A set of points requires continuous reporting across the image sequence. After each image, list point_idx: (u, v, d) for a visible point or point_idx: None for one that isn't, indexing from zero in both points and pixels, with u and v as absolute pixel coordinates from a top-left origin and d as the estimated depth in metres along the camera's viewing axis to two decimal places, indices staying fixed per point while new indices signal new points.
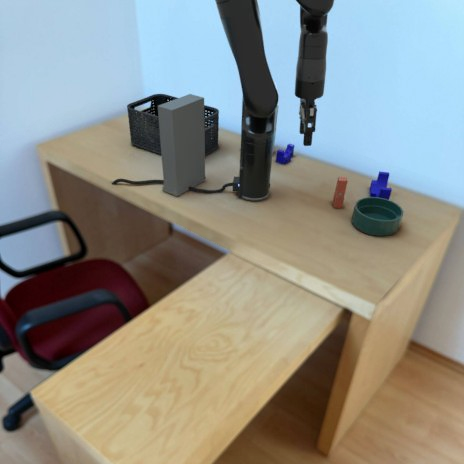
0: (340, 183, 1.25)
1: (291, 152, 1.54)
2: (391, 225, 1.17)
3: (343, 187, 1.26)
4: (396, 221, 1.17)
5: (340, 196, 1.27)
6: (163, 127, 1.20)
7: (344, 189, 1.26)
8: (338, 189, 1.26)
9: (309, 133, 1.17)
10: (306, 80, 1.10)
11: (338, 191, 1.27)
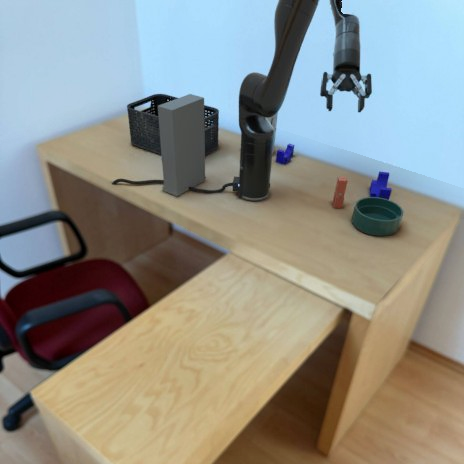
0: (340, 183, 1.25)
1: (291, 152, 1.54)
2: (391, 225, 1.17)
3: (343, 187, 1.26)
4: (396, 221, 1.17)
5: (340, 196, 1.27)
6: (163, 127, 1.20)
7: (344, 189, 1.26)
8: (338, 189, 1.26)
9: None
10: None
11: (338, 191, 1.27)
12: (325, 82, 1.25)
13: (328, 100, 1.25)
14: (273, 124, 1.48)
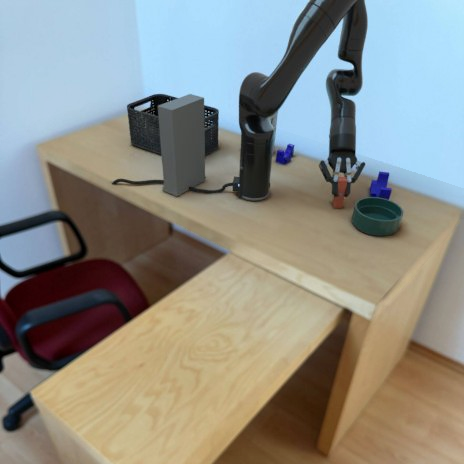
0: (340, 183, 1.25)
1: (291, 152, 1.54)
2: (391, 225, 1.17)
3: (343, 187, 1.26)
4: (396, 221, 1.17)
5: (340, 196, 1.27)
6: (163, 127, 1.20)
7: (344, 189, 1.26)
8: (338, 189, 1.26)
9: None
10: (355, 136, 1.26)
11: (338, 191, 1.27)
12: (326, 169, 1.26)
13: (333, 187, 1.26)
14: (273, 124, 1.48)
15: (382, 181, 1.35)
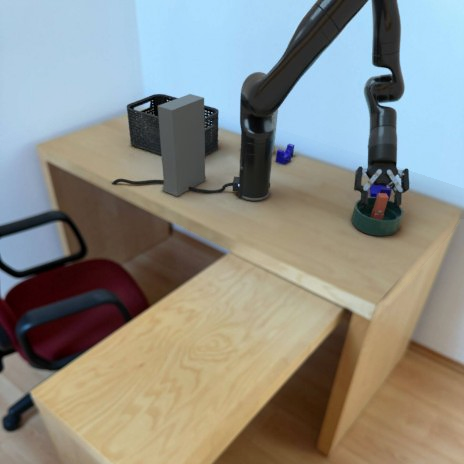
0: (380, 200, 1.18)
1: (291, 152, 1.54)
2: (391, 225, 1.17)
3: (383, 204, 1.18)
4: (396, 221, 1.17)
5: (379, 213, 1.20)
6: (163, 127, 1.20)
7: (384, 206, 1.19)
8: (378, 206, 1.19)
9: None
10: None
11: (377, 208, 1.19)
12: (360, 177, 1.18)
13: (363, 196, 1.18)
14: (273, 124, 1.48)
15: None
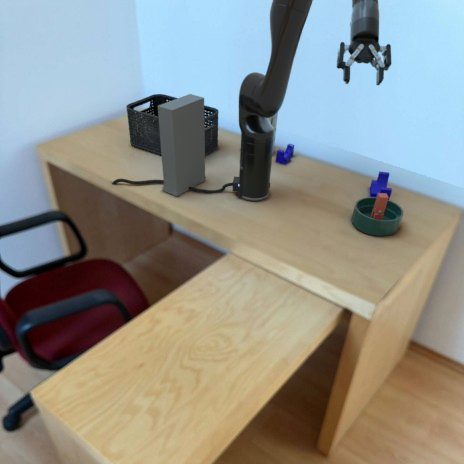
0: (380, 200, 1.18)
1: (291, 152, 1.54)
2: (391, 225, 1.17)
3: (383, 204, 1.18)
4: (396, 221, 1.17)
5: (379, 213, 1.20)
6: (163, 127, 1.20)
7: (384, 206, 1.19)
8: (378, 206, 1.19)
9: None
10: None
11: (377, 208, 1.19)
12: (342, 53, 1.18)
13: (345, 72, 1.18)
14: (273, 124, 1.48)
15: (382, 181, 1.35)
